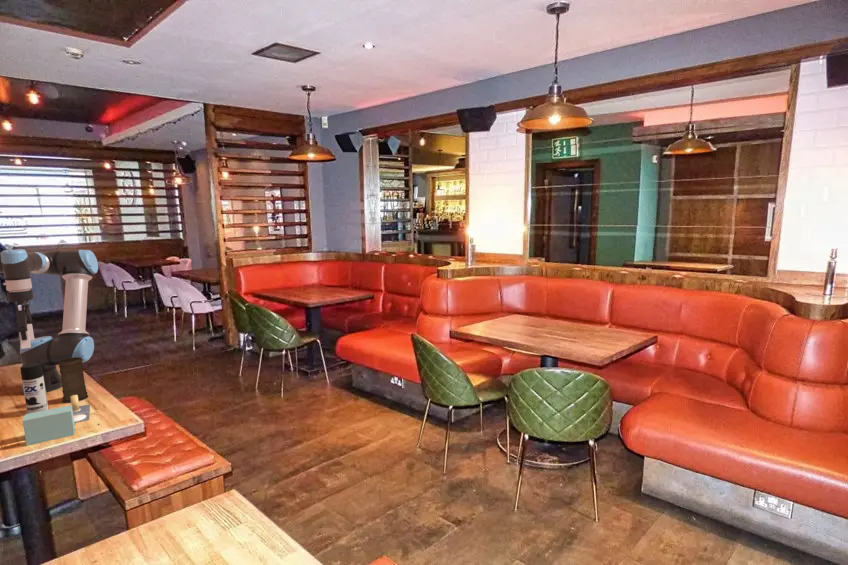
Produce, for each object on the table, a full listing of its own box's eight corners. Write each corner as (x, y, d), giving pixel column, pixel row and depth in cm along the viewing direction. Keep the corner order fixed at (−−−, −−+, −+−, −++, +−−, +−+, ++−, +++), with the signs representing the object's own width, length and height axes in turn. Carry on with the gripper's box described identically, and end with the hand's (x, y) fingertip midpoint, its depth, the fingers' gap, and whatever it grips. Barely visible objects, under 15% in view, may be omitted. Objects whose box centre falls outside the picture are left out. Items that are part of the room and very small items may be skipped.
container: (75, 405, 195) (69, 363, 192) (57, 404, 197) (51, 362, 194) (94, 397, 204) (88, 357, 201) (76, 396, 206) (71, 356, 203)
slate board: (37, 417, 185) (34, 400, 184) (90, 406, 194) (87, 390, 193) (31, 435, 170) (29, 416, 169) (89, 422, 179) (87, 404, 178)
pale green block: (28, 438, 167) (25, 414, 166) (75, 428, 175) (71, 404, 173) (26, 445, 162) (22, 420, 160) (74, 434, 169) (70, 411, 168)
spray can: (23, 418, 184) (16, 368, 181) (32, 411, 191) (25, 363, 188) (44, 415, 186) (36, 366, 183) (52, 408, 193) (45, 361, 190)
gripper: (11, 287, 189) (19, 338, 192) (1, 296, 168) (11, 353, 172) (35, 285, 193) (43, 335, 196) (28, 293, 173) (37, 349, 176)
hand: (28, 344), depth 184 cm, fingers open, 13 cm apart
